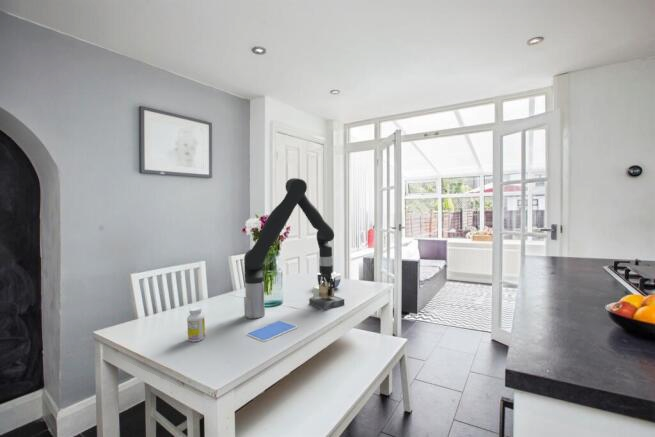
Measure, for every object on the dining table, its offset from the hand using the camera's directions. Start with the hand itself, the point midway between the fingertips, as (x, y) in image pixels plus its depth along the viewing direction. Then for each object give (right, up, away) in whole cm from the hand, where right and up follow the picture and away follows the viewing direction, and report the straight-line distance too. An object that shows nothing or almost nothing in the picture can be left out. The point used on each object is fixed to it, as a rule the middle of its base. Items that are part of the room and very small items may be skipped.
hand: (326, 294), depth 179 cm
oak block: (0, -1, 0) cm, 1 cm away
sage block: (-4, -5, +15) cm, 16 cm away
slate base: (0, -6, 0) cm, 6 cm away
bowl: (+2, -4, +34) cm, 35 cm away
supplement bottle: (-54, -9, -44) cm, 70 cm away
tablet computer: (-24, -8, -37) cm, 45 cm away
